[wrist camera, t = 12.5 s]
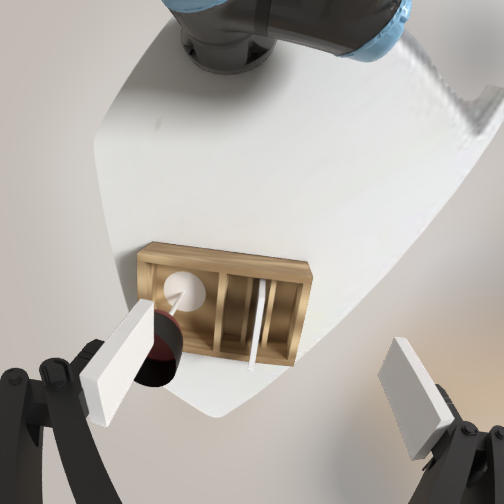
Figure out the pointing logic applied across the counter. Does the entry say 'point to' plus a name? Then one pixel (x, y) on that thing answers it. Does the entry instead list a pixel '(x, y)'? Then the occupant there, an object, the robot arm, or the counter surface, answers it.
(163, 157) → the counter surface
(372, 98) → the counter surface
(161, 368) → the wineglass
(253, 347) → the white flat panel
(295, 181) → the counter surface
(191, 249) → the wooden divided tray
